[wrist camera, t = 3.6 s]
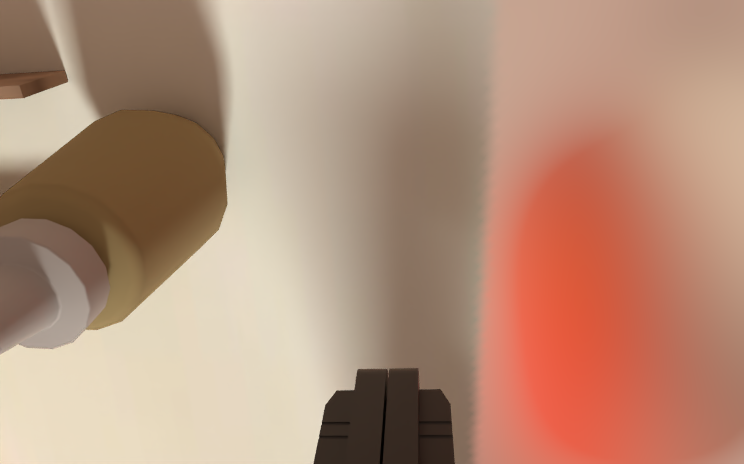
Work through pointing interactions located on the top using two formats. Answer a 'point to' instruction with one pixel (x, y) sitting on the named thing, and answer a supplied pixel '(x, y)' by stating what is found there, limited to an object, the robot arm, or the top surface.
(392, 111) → the top surface
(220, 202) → the squeeze bottle
